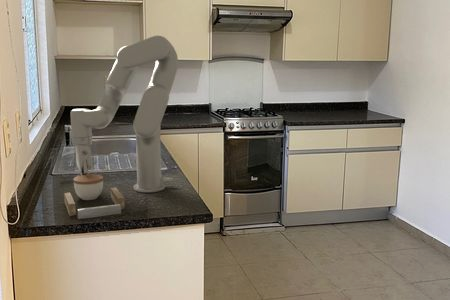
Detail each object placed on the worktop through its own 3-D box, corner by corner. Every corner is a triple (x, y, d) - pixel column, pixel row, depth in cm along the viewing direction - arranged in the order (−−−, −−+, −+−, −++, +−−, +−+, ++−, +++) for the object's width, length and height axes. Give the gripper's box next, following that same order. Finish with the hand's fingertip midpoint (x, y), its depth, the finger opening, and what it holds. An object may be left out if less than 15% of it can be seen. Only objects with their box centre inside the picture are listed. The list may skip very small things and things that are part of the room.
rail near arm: (116, 197, 183) (115, 187, 183) (124, 208, 171) (124, 197, 170) (110, 198, 183) (110, 188, 182) (118, 209, 170) (118, 198, 169)
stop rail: (120, 212, 167) (119, 203, 166) (121, 213, 166) (120, 205, 165) (77, 217, 162) (77, 209, 161) (78, 219, 160) (78, 210, 160)
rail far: (70, 203, 177) (70, 192, 176) (75, 214, 164) (75, 203, 164) (64, 203, 176) (64, 193, 175) (69, 215, 164) (68, 204, 163)
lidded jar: (73, 195, 186) (72, 171, 184) (102, 192, 190) (101, 169, 188) (75, 203, 177) (74, 178, 175) (105, 200, 180) (104, 175, 178)
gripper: (95, 143, 184) (97, 189, 188) (89, 136, 197) (91, 180, 201) (74, 144, 181) (77, 192, 185) (69, 138, 194) (72, 182, 198)
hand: (84, 185), depth 193 cm, fingers closed
